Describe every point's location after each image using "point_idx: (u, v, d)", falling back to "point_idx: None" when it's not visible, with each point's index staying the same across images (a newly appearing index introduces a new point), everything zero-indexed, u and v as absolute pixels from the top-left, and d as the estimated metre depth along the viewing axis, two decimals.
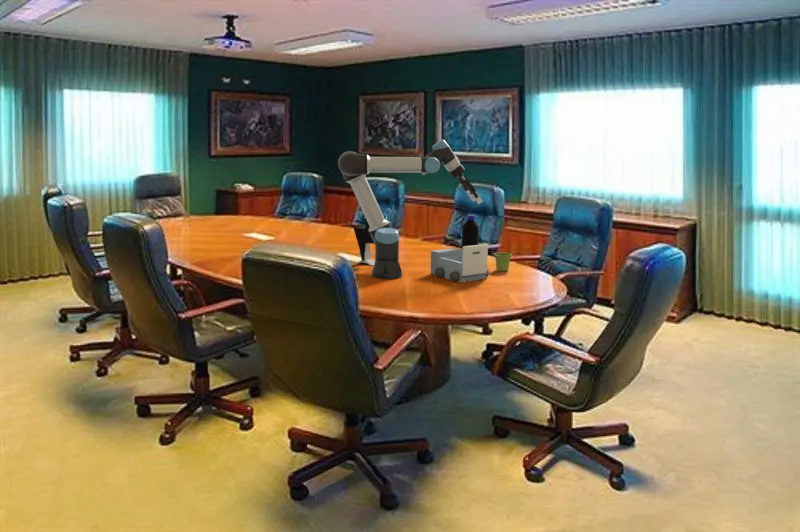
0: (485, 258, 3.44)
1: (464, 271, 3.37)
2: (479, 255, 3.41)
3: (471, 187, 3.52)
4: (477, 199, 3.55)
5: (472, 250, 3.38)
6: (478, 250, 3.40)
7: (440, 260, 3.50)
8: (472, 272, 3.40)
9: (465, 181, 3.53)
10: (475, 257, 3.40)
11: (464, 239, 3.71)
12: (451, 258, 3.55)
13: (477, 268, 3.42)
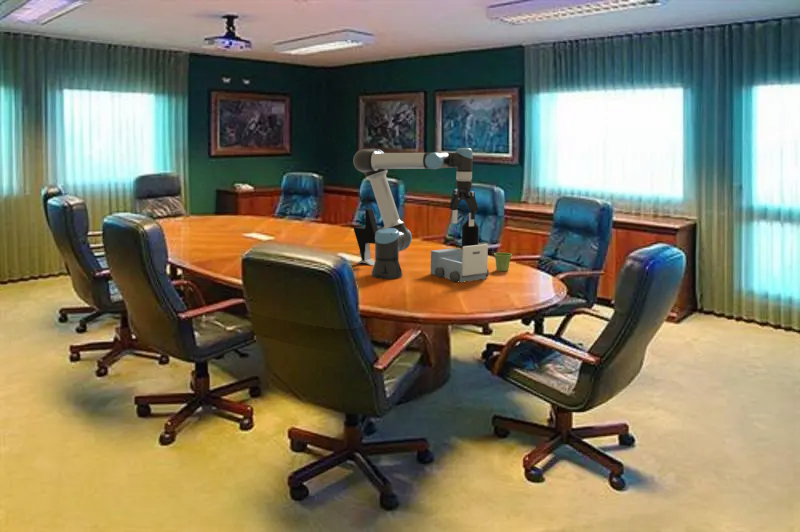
0: (485, 258, 3.44)
1: (464, 271, 3.37)
2: (479, 255, 3.41)
3: (475, 206, 3.37)
4: (471, 221, 3.40)
5: (472, 250, 3.38)
6: (478, 250, 3.40)
7: (440, 260, 3.50)
8: (472, 272, 3.40)
9: (472, 198, 3.37)
10: (475, 257, 3.40)
11: (464, 239, 3.71)
12: (451, 258, 3.55)
13: (477, 268, 3.42)
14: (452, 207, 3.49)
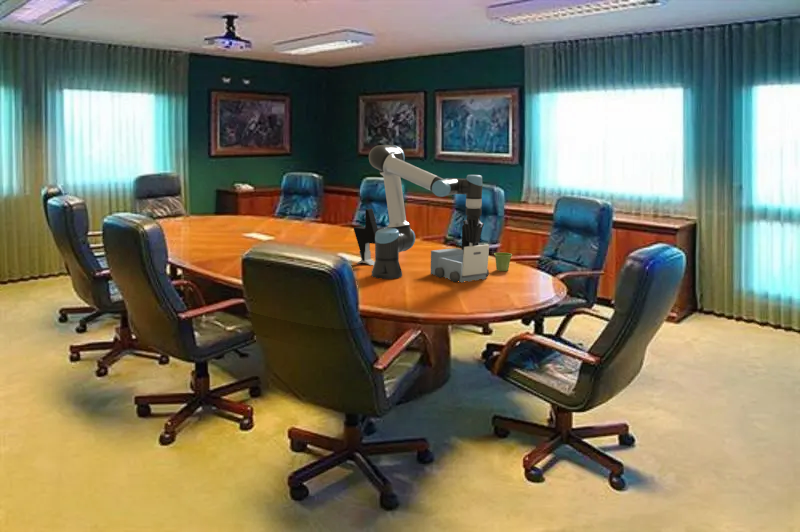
0: (486, 258, 3.43)
1: (464, 271, 3.37)
2: (480, 255, 3.41)
3: (478, 238, 3.37)
4: None
5: (473, 250, 3.38)
6: (479, 250, 3.40)
7: (440, 260, 3.50)
8: (472, 272, 3.40)
9: (479, 229, 3.35)
10: (476, 257, 3.40)
11: (464, 239, 3.71)
12: (451, 258, 3.55)
13: (477, 268, 3.42)
14: (469, 239, 3.41)
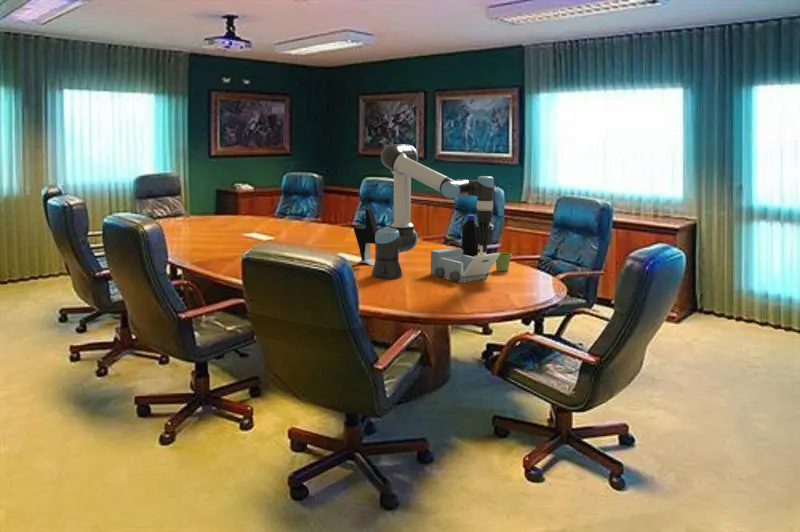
0: (491, 264, 3.40)
1: (466, 273, 3.36)
2: (487, 262, 3.37)
3: (489, 240, 3.31)
4: (483, 254, 3.35)
5: (482, 259, 3.33)
6: (488, 258, 3.35)
7: (440, 260, 3.50)
8: (473, 274, 3.40)
9: (490, 232, 3.29)
10: (482, 263, 3.36)
11: (464, 239, 3.71)
12: (451, 258, 3.55)
13: (479, 271, 3.40)
14: (479, 242, 3.35)
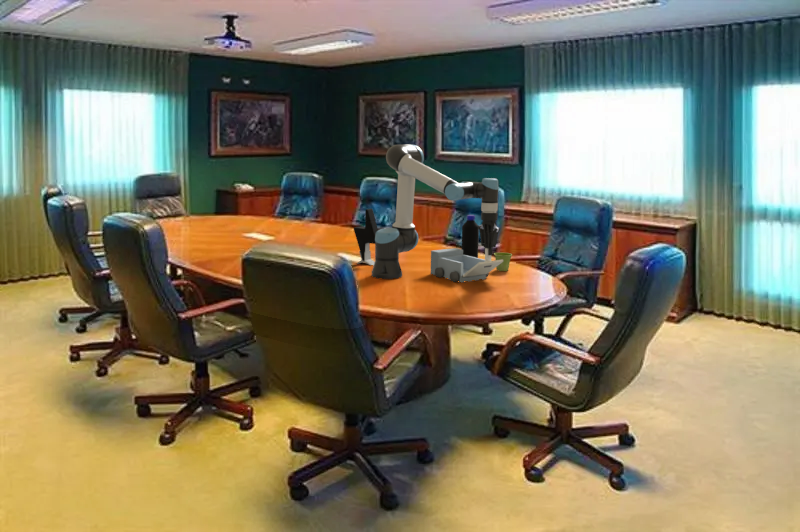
0: (493, 267, 3.40)
1: (466, 275, 3.36)
2: (489, 266, 3.36)
3: (494, 243, 3.28)
4: (488, 256, 3.32)
5: (485, 265, 3.31)
6: (491, 264, 3.34)
7: (440, 260, 3.50)
8: (473, 275, 3.40)
9: (495, 234, 3.26)
10: (484, 268, 3.35)
11: (464, 239, 3.71)
12: (451, 258, 3.55)
13: (480, 272, 3.40)
14: (484, 244, 3.32)
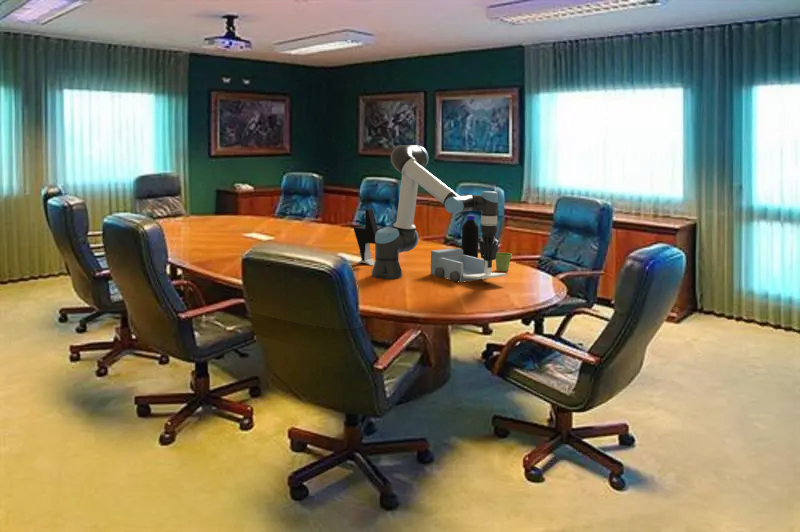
0: None
1: (467, 277, 3.36)
2: None
3: (494, 255, 3.29)
4: (488, 269, 3.33)
5: None
6: None
7: (440, 260, 3.50)
8: None
9: (495, 247, 3.27)
10: None
11: (464, 239, 3.71)
12: (451, 258, 3.55)
13: None
14: (484, 257, 3.33)
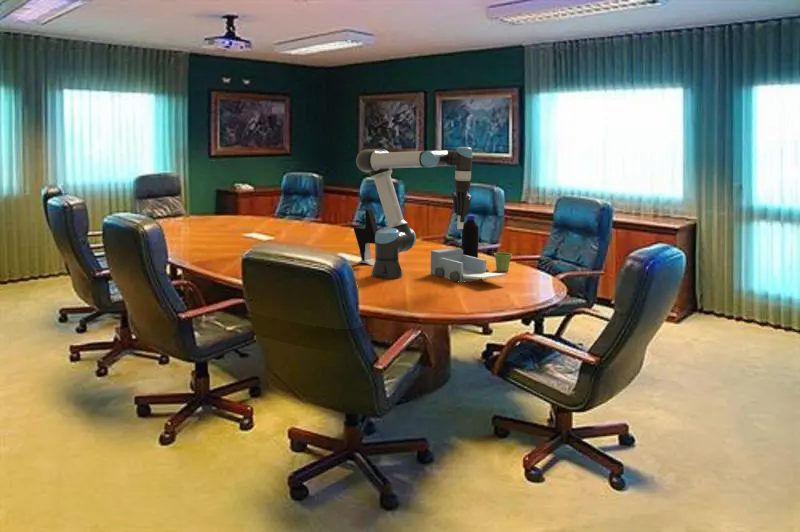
0: None
1: (467, 277, 3.36)
2: None
3: (466, 210, 3.37)
4: (460, 224, 3.40)
5: None
6: None
7: (440, 260, 3.50)
8: None
9: (467, 202, 3.35)
10: None
11: (464, 239, 3.71)
12: (451, 258, 3.55)
13: None
14: (457, 212, 3.41)
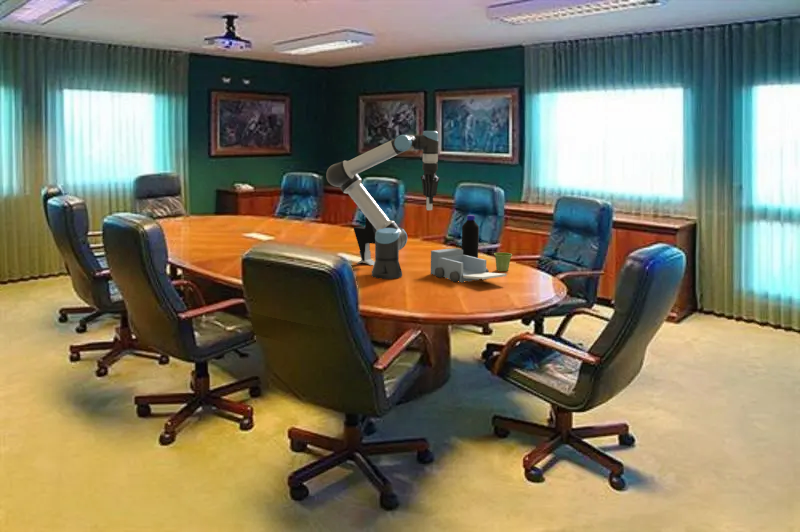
0: None
1: (467, 277, 3.36)
2: None
3: (435, 192, 3.49)
4: (429, 205, 3.53)
5: None
6: None
7: (440, 260, 3.50)
8: None
9: (435, 183, 3.47)
10: None
11: (464, 239, 3.71)
12: (451, 258, 3.55)
13: None
14: (426, 194, 3.53)
